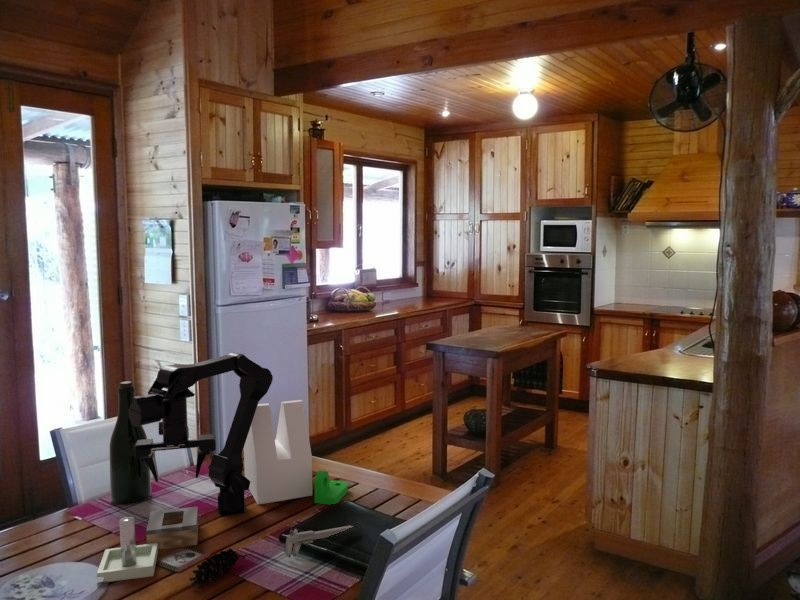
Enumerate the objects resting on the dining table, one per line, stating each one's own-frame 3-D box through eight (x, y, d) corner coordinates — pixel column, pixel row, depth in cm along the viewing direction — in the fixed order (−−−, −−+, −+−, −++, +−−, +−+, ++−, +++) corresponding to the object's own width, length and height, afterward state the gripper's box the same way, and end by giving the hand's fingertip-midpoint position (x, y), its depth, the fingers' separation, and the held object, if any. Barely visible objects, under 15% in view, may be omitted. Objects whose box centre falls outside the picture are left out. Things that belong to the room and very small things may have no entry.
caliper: (288, 559, 144) (287, 533, 143) (285, 558, 145) (285, 531, 144) (358, 530, 158) (358, 505, 157) (355, 528, 159) (355, 504, 158)
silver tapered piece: (136, 569, 139) (133, 524, 138) (120, 571, 138) (118, 526, 137) (137, 555, 145) (134, 512, 144) (122, 558, 144) (120, 514, 143)
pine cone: (199, 568, 130) (180, 568, 132) (204, 593, 130) (184, 592, 132) (253, 534, 146) (235, 534, 148) (257, 556, 146) (239, 556, 148)
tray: (158, 553, 148) (157, 542, 148) (153, 577, 138) (153, 565, 137) (106, 559, 145) (105, 549, 145) (97, 584, 135) (96, 573, 134)
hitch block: (198, 525, 162) (197, 506, 162) (197, 545, 152) (196, 524, 151) (151, 531, 159) (151, 511, 159) (147, 551, 149) (146, 530, 148)
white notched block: (244, 480, 193) (242, 398, 191) (295, 473, 199) (293, 393, 197) (257, 504, 176) (255, 414, 173) (312, 495, 182) (310, 408, 179)
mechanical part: (335, 505, 175) (334, 476, 174) (314, 502, 177) (314, 474, 176) (350, 488, 187) (350, 462, 186) (331, 486, 188) (331, 460, 187)
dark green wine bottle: (152, 489, 187) (147, 376, 184) (150, 503, 177) (145, 384, 174) (112, 493, 183) (107, 379, 180) (108, 508, 173) (102, 387, 170)
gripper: (214, 406, 167) (216, 464, 169) (137, 411, 162) (140, 472, 164) (214, 417, 157) (216, 480, 158) (131, 423, 152) (134, 488, 153)
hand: (177, 479), depth 159 cm, fingers open, 9 cm apart
